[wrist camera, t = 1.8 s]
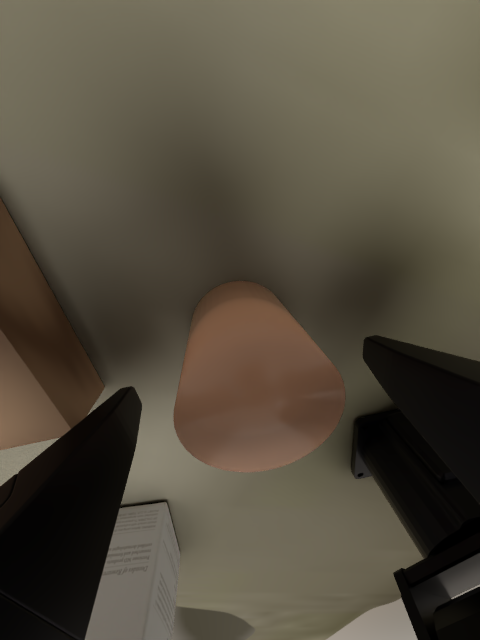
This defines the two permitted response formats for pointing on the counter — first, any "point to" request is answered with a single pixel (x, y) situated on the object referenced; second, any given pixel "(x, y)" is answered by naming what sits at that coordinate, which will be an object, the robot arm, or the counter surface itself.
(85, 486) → the robot arm
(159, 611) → the supplement box
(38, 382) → the tan flat block
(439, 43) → the counter surface
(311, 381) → the terracotta cylinder
